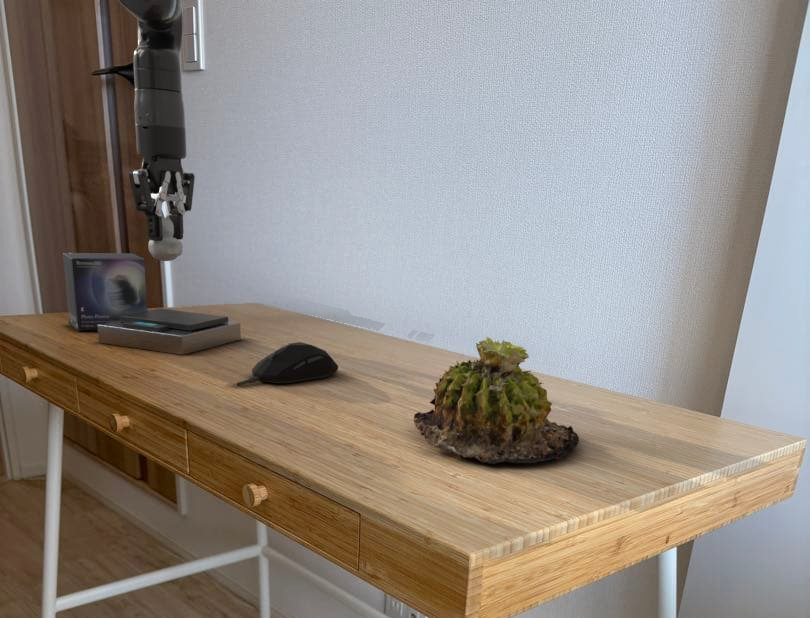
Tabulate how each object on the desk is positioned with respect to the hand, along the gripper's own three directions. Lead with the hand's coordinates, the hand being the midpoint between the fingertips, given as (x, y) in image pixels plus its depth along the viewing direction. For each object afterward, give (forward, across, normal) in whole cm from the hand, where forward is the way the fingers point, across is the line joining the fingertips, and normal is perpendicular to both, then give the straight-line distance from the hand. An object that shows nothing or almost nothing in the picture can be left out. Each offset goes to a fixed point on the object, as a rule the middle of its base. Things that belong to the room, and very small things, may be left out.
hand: (166, 239), depth 136 cm
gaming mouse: (+12, +31, +40) cm, 52 cm away
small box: (+12, +16, +1) cm, 20 cm away
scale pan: (+9, +19, +15) cm, 26 cm away
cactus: (+11, +43, +70) cm, 83 cm away
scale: (+12, +20, +15) cm, 28 cm away
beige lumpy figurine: (+4, 0, 0) cm, 4 cm away
